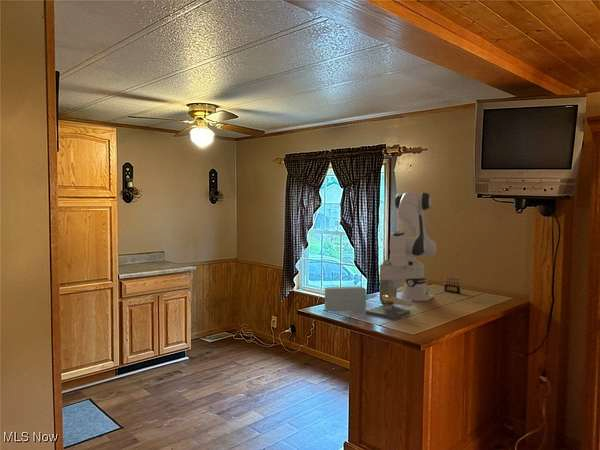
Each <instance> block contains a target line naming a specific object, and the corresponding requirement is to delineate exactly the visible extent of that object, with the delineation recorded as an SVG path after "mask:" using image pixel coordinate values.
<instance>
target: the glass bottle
mask: <svg viewBox="0 0 600 450" xmlns="http://www.w3.org/2000/svg"><path fill="white" fill-rule="evenodd" d="M389 262H390V259H386V260H384V261H383V262H382V263H389ZM395 282H396V284H398V279H397V280H396V281H395ZM397 291H398V288H395V287H394V283H393V281H392V280H381V279H380V278H379V301H380V304H382V305H384V306H385V304H383V303H382V295H394V296H395V298H397V293H398V292H397ZM394 305H395V304H392V306H394Z"/></svg>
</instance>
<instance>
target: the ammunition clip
mask: <svg viewBox="0 0 600 450" xmlns="http://www.w3.org/2000/svg"><path fill="white" fill-rule="evenodd" d="M443 288H444V292H445V293H452V294H453V293H454V294H461V277H460V276H457V275H456V276H455V275H450V274H448V275H447V274H445V279H444V287H443Z"/></svg>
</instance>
